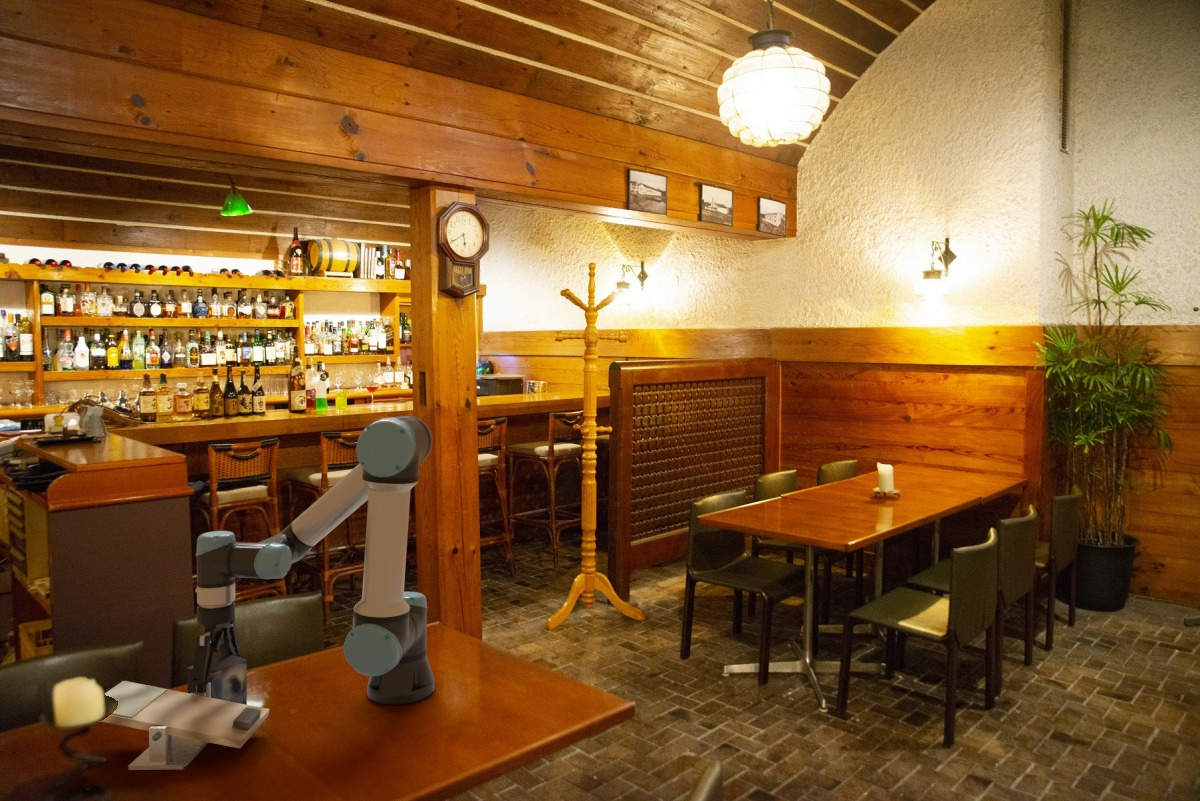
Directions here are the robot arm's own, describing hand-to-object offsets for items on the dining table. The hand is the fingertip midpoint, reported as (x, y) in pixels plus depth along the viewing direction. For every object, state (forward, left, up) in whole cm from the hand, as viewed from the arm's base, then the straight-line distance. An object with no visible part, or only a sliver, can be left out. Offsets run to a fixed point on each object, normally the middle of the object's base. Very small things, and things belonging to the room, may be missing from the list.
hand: (216, 701), depth 174 cm
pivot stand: (0, +17, -2) cm, 17 cm away
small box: (0, 0, -2) cm, 2 cm away
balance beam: (0, +17, +4) cm, 18 cm away
